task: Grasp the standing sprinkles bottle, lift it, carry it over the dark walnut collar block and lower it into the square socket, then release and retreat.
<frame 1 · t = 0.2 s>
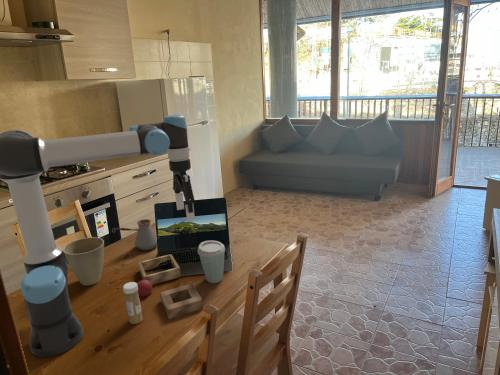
hand: (185, 214, 144), 28 cm above the table, fingers open, 13 cm apart
disposable coffee cup: (214, 280, 152), on the table
collar block: (181, 304, 137), on the table
coffee pot: (138, 251, 181), on the table
open square frame: (159, 273, 159), on the table
fruit: (146, 295, 144), on the table
sprinkles bottle: (136, 320, 130), on the table
plant pot: (91, 281, 156), on the table
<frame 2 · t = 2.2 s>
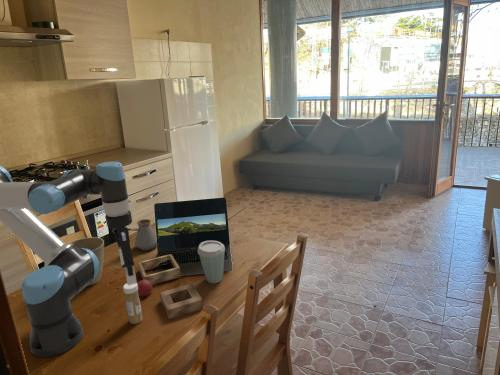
hand: (128, 274, 124), 17 cm above the table, fingers open, 13 cm apart
nothing on the table moved.
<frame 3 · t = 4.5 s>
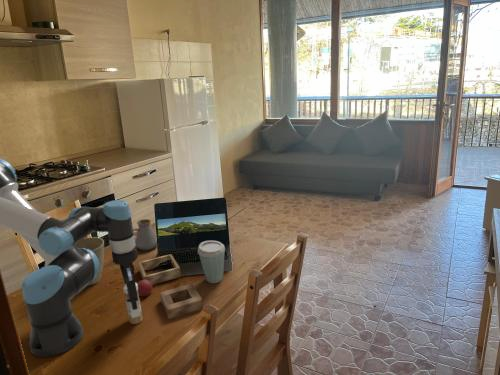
hand: (134, 312, 129), 3 cm above the table, fingers closed on sprinkles bottle, 4 cm apart
sprinkles bottle: (136, 320, 130), on the table, touching gripper
everything else where it was.
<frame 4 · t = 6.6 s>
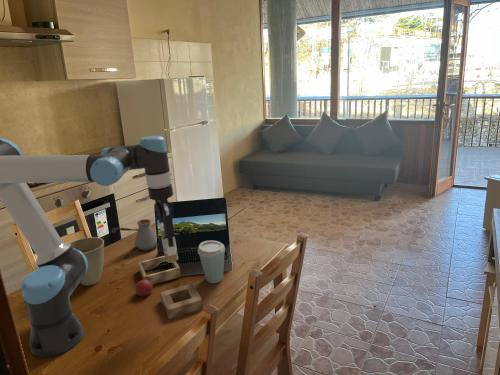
hand: (170, 251, 129), 21 cm above the table, fingers closed on sprinkles bottle, 4 cm apart
sprinkles bottle: (171, 260, 130), point 18 cm above the table, touching gripper
everything else where it was.
when the fingers open (5 cm above the table, at t = 8.9 s): sprinkles bottle drops 2 cm, resting in collar block.
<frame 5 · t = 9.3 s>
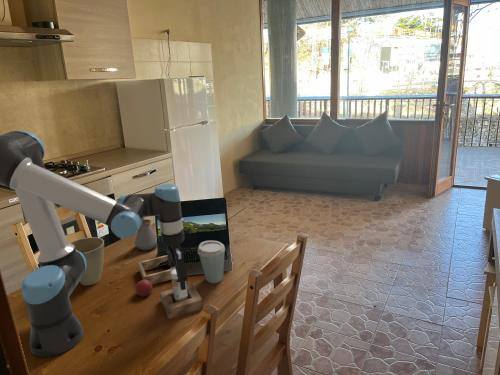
hand: (179, 289, 135), 6 cm above the table, fingers open, 9 cm apart
sprinkles bottle: (181, 305, 137), resting in collar block
everything else where it was.
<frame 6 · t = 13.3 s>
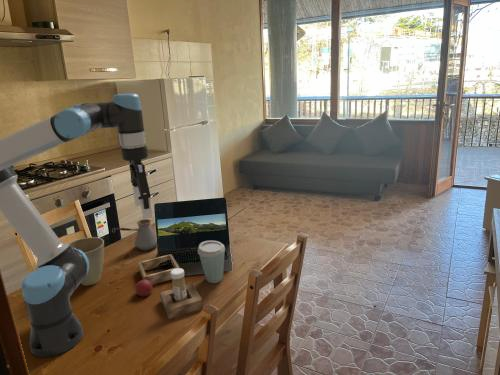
hand: (143, 211, 124), 37 cm above the table, fingers open, 13 cm apart
nothing on the table moved.
at the end: sprinkles bottle 0.0 cm off-centre on the collar block, point 0.0 cm above the collar block's base; sprinkles bottle tilted 0°; the gripper is holding nothing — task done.
